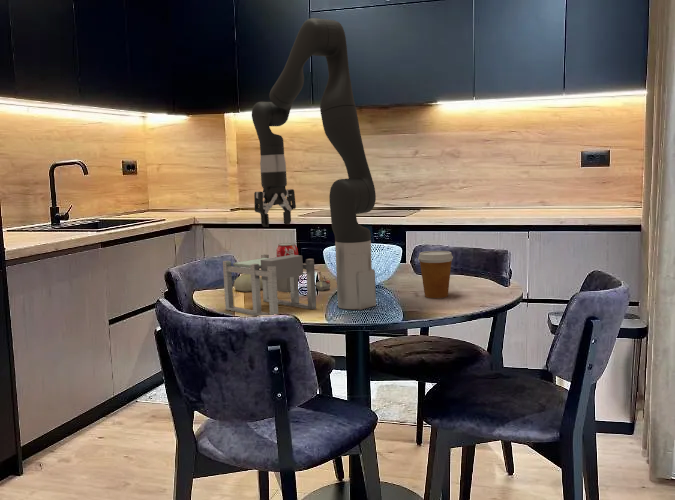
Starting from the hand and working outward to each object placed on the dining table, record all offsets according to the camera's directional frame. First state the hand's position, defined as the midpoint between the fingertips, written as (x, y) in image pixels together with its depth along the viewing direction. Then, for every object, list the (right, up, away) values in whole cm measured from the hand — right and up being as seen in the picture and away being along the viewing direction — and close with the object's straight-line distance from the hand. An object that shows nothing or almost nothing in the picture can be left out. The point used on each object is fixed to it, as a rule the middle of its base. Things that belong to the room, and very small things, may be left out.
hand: (276, 225), depth 202 cm
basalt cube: (+3, -20, +2) cm, 20 cm away
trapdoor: (0, -14, -25) cm, 29 cm away
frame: (+1, -23, -24) cm, 33 cm away
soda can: (+2, -17, +20) cm, 26 cm away
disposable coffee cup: (+45, -20, -16) cm, 52 cm away
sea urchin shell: (-9, -20, +6) cm, 22 cm away
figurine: (+14, -20, 0) cm, 24 cm away
